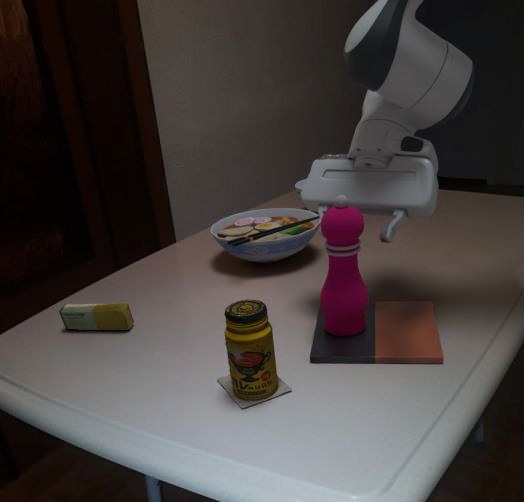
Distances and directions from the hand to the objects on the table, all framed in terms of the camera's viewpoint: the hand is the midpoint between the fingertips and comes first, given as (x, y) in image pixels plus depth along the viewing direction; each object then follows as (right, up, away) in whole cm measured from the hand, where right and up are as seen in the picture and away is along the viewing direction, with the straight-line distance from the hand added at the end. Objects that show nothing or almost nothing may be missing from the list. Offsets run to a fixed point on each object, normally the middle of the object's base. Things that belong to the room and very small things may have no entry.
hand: (354, 238), depth 81 cm
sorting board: (+4, -14, +3) cm, 14 cm away
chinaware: (+3, +18, +61) cm, 64 cm away
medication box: (-41, -13, +14) cm, 45 cm away
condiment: (-15, -21, -6) cm, 27 cm away
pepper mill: (-1, -13, +4) cm, 13 cm away
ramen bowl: (-12, +3, +36) cm, 39 cm away
